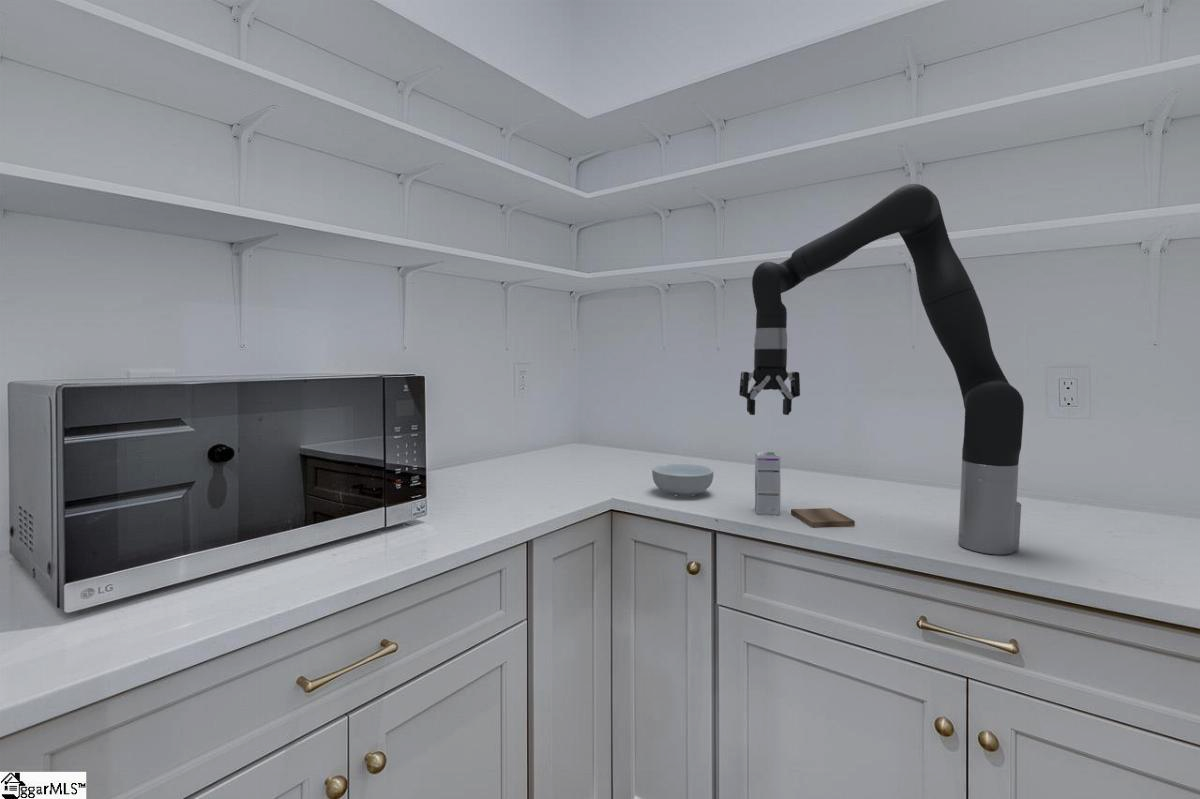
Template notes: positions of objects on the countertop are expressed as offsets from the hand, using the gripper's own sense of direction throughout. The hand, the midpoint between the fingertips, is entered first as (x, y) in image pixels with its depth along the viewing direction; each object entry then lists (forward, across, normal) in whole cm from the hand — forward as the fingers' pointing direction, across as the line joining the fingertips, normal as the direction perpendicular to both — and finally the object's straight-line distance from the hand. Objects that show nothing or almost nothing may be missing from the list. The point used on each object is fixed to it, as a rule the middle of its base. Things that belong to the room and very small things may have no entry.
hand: (769, 414), depth 139 cm
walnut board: (+24, +10, -8) cm, 27 cm away
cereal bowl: (+24, -16, +21) cm, 36 cm away
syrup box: (+24, 0, 0) cm, 24 cm away
